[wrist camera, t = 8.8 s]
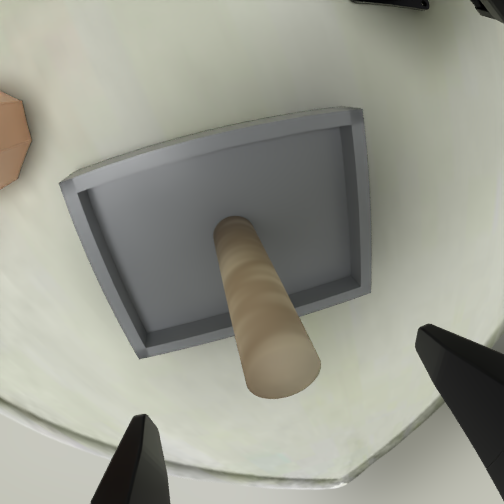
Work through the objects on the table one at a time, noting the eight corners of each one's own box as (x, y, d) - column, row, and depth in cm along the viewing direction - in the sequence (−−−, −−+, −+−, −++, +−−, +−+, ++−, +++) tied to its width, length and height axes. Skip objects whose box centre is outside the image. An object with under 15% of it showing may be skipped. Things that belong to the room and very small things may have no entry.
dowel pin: (250, 211, 18) (319, 337, 9) (258, 248, 19) (322, 385, 10) (208, 221, 18) (238, 361, 9) (218, 258, 19) (253, 406, 10)
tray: (341, 106, 18) (362, 108, 15) (354, 274, 23) (371, 292, 21) (73, 172, 16) (58, 183, 14) (141, 334, 22) (139, 359, 19)
